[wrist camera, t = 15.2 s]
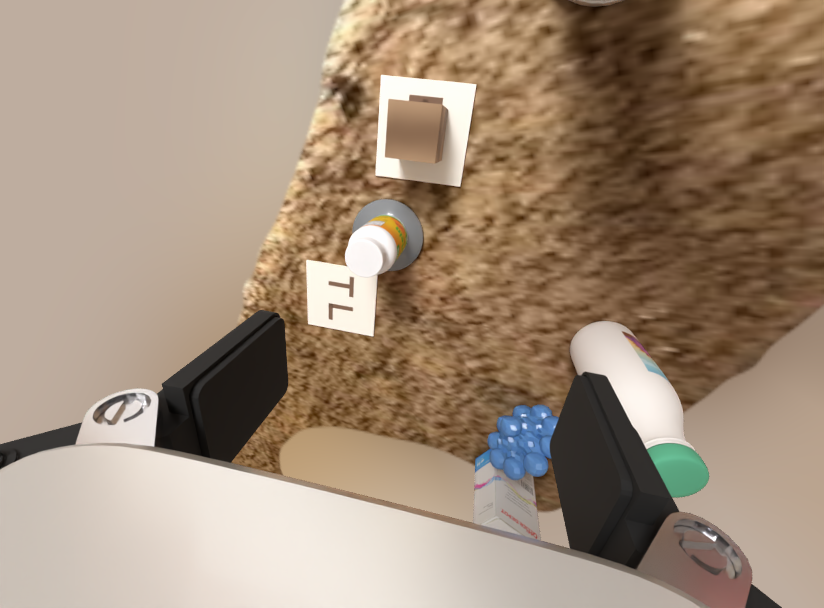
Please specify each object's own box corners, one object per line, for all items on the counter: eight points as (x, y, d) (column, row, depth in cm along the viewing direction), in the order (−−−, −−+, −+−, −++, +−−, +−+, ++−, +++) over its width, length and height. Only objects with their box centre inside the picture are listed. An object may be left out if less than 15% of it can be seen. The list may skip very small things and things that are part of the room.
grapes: (534, 368, 48) (549, 433, 38) (564, 400, 49) (587, 472, 39) (470, 407, 53) (466, 475, 42) (498, 435, 54) (502, 507, 44)
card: (307, 259, 48) (306, 260, 47) (377, 271, 46) (377, 272, 46) (308, 323, 52) (308, 324, 52) (373, 335, 51) (373, 336, 51)
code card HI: (381, 75, 37) (381, 74, 37) (476, 84, 36) (476, 84, 35) (376, 175, 41) (375, 175, 41) (460, 186, 40) (460, 186, 40)
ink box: (473, 459, 57) (470, 530, 47) (494, 444, 55) (497, 515, 45) (511, 487, 59) (517, 564, 48) (534, 474, 56) (545, 551, 46)
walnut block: (402, 104, 37) (388, 98, 32) (448, 109, 37) (442, 104, 32) (398, 155, 40) (384, 157, 34) (441, 160, 39) (434, 163, 34)
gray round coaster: (355, 194, 43) (353, 194, 42) (427, 204, 42) (426, 205, 41) (352, 263, 47) (351, 264, 46) (418, 274, 46) (418, 276, 45)
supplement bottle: (411, 254, 44) (394, 282, 35) (370, 258, 45) (344, 286, 37) (405, 211, 42) (385, 229, 33) (362, 216, 43) (332, 235, 34)
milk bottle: (567, 370, 47) (617, 509, 30) (569, 320, 44) (626, 441, 27) (631, 370, 46) (724, 517, 28) (637, 317, 43) (747, 444, 25)
